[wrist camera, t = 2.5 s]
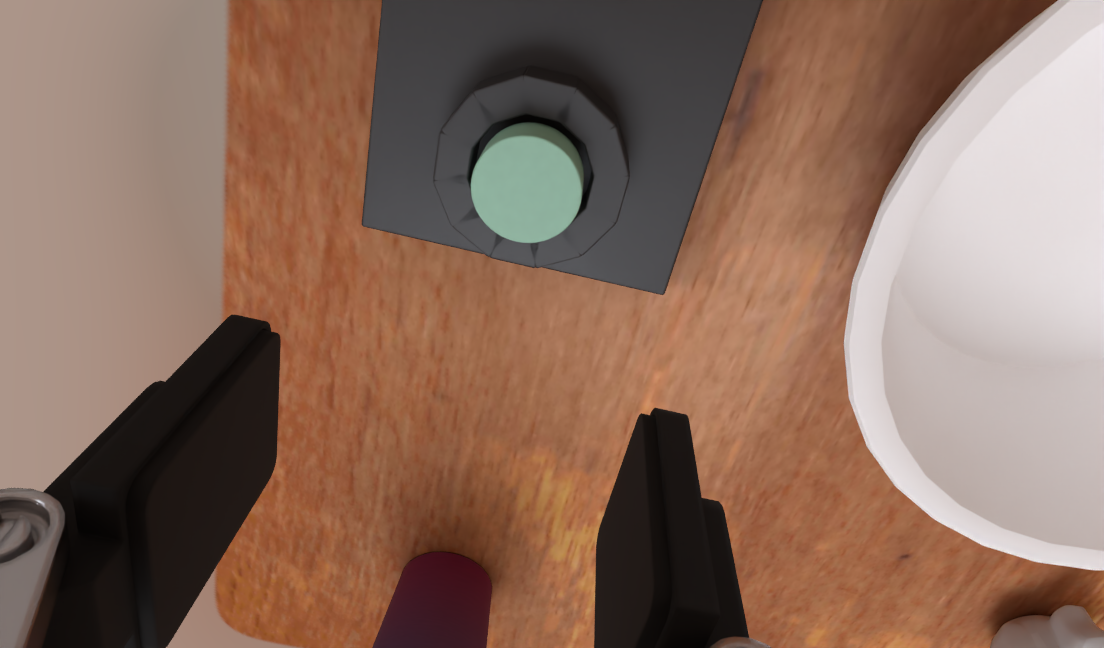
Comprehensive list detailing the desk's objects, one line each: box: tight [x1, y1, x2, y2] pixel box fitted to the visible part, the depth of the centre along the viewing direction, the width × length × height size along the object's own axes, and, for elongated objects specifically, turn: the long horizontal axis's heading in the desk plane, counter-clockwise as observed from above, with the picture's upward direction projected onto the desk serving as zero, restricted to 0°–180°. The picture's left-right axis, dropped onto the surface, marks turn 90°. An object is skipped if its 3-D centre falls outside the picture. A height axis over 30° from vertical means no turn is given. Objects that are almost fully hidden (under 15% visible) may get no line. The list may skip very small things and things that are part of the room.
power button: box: [471, 122, 584, 243], centre depth 24 cm, size 4×4×2 cm
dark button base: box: [362, 0, 763, 295], centre depth 23 cm, size 18×12×4 cm, turn 168°
